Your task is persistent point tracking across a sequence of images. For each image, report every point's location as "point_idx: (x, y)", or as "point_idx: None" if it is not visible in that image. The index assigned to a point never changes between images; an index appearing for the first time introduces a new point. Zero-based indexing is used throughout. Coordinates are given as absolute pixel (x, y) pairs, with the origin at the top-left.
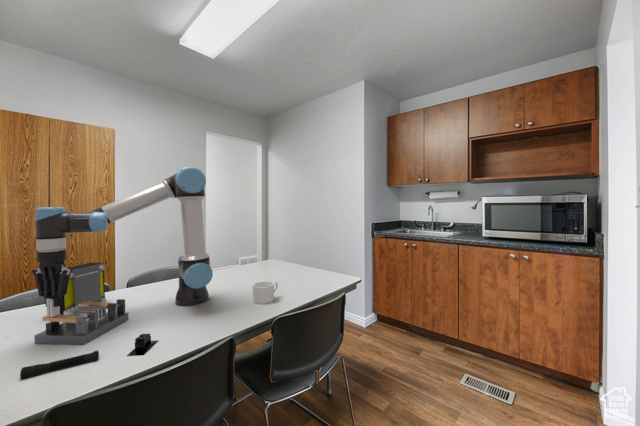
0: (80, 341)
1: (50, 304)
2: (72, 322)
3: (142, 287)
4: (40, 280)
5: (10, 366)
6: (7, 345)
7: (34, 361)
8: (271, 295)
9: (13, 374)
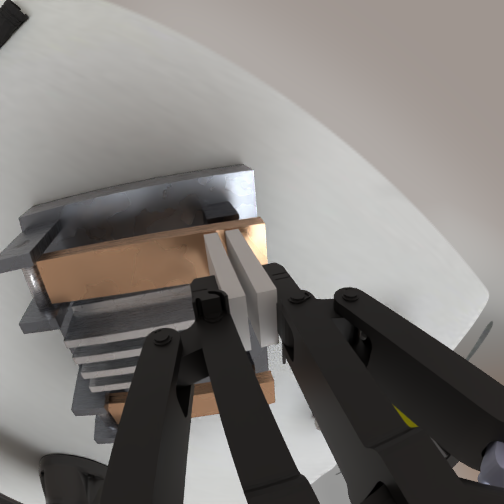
0: (38, 207)
1: (226, 271)
2: (78, 247)
3: (309, 476)
4: (443, 396)
5: (134, 25)
6: (336, 141)
7: (81, 68)
8: None
9: (67, 5)
